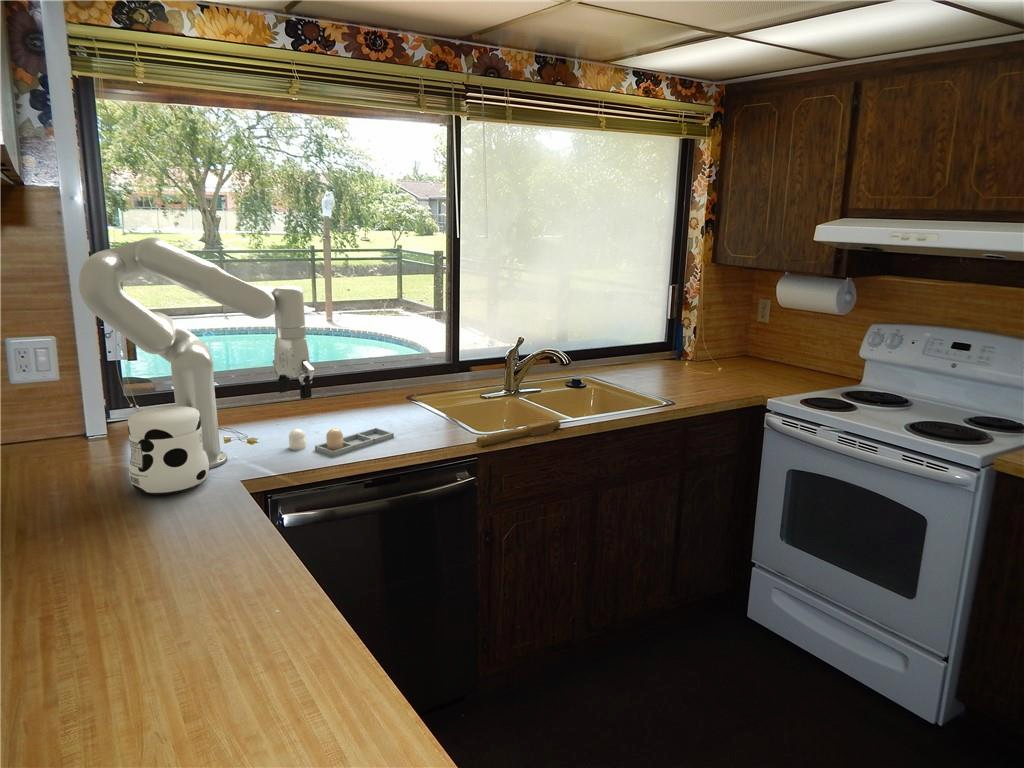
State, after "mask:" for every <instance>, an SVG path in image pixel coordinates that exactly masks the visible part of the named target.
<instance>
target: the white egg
mask: <svg viewBox="0 0 1024 768" xmlns="http://www.w3.org/2000/svg"><path fill="white" fill-rule="evenodd" d="M306 439H307V438H306V433H305V432H304V431H303V429H301V428H295V429H292V430H291V431H290V432H289V434H288V443H289V444H288V445H289V449H290V450H293V451H297V450H298V451H299V450H303V449H305V448H306V447H307V441H306Z"/></svg>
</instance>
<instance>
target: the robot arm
mask: <svg viewBox="0 0 1024 768" xmlns="http://www.w3.org/2000/svg"><path fill="white" fill-rule="evenodd" d="M79 272H80V273H79V278H78V288H79V293H80V297H81V299H82V300H83V303H84V304H85V306H86V307H87V308H88V309H89V311H90V312H91V313H93V314H94V315H95V316H96V317H98V318H99V319H100V320H101V321H103V322H104V323H106V324H107V325H108V326H110V327H111V328H112V329H113V330H115V331H116V332H118V333H119V334H120V335H122V336H123V337H124V338H126V339H127V340H129V341H130V342H131V343H133V344H134V345H136V346H137V347H138V348H140V350H142V351H143V352H145V353H148V354H150V355H151V354H152V355H158V356H160V358H163V359H164V360H166V361H167V362H169V364H170V368H171V369H170V370H171V377H172V378H171V380H172V384H173V395H174V402H175V403H174V406H184V407H191V408H195V409H197V410H198V411H199V414H200V419H201V428H202V441H203V446H204V449H205V452H206V454H207V457H208V460H209V469H213V468H215V467H219V466H221V465H223V464H224V463H226V462H227V461H228V455H227V453H226V452H224V451H221V444H220V433H219V424H218V423H219V422H218V411H217V402H216V392H215V377H214V376H215V375H214V363H213V359H212V353H211V352H210V351H211V350H210V349H209V347H208V345H206V343H205V342H204V341H202V339H200V338H198V337H197V336H196V335H195V334H194V333H192V332H191V331H189V330H188V329H187V328H185V327H184V326H183V325H182V324H180V323H178V322H177V321H175V320H174V319H173V318H171V317H170V316H169V315H168V314H164V313H162V312H159V311H152V310H149V308H147V307H145V306H144V305H142V304H141V303H140V302H139V301H137V300H136V299H135V298H134V297H132V296H130V294H127V293H126V292H125V291H124V290H123V288H122V286H121V283H124V282H126V281H130V280H134V279H137V278H140V277H144V276H147V275H150V276H153V277H155V278H158V279H161V280H163V281H165V282H168V283H171V284H173V285H176V286H178V287H181V288H182V289H184V290H187V291H189V292H192V293H194V294H196V295H198V296H200V297H203V298H205V299H208V300H210V301H214V302H216V303H218V304H219V305H222V306H224V307H227V308H228V309H232V310H234V311H235V312H239V313H241V314H243V315H246V316H248V317H250V318H254V319H257V320H264V319H267V318H269V317H271V316H272V315H273V314H274V323H275V339H274V352H273V353H274V356H273V358H274V359H273V360H272V365H273V367H274V371H275V373H276V376H275V377H276V379H277V383H278V384H277V386H278V392H279V393H280V394H283V393H287V392H290V391H291V383H290V377H291V378H298V380H299V382H300V384H299V396H300V399H301V400H306V399H309V398H312V395H313V394H312V383H313V380H314V379H315V378H314V374H315V371H316V370H315V368H314V367H313V366H312V365H311V363H310V354H309V348H308V347H309V346H308V343H307V339H306V337H307V336H306V335H307V333H306V321H305V320H306V319H305V317H306V316H305V306H304V305H305V303H304V292H303V288H302V287H300V286H299V285H280V286H267V285H253V284H251V283H249V282H247V281H244V280H242V279H239V278H237V277H236V276H234V275H232V274H230V273H228V272H227V271H224V270H223V269H222V268H221V267H219V266H218V265H216V264H214V263H212V262H211V261H208V260H206V259H203V258H201V257H199V256H197V255H194V254H192V253H189V252H187V251H185V250H183V249H180V248H178V247H176V246H173V245H171V244H170V243H168V242H166V241H164V239H161V238H158V237H147V238H143V239H140V240H138V241H134V242H131V243H126V244H122V245H119V246H115V247H111V248H108V249H103V250H101V251H97V252H95V253H92V255H90V256H89V257H87V258H86V259H85V261H84V262H83V264H82V266H81V268H80V271H79ZM279 393H278V394H279Z"/></svg>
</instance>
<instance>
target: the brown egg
mask: <svg viewBox="0 0 1024 768" xmlns="http://www.w3.org/2000/svg"><path fill="white" fill-rule="evenodd" d="M325 437H326V442H327V449H329V450H331V451H335V450H338V449H341V448H343V437H344V434H343V432H342V431H341V430H340V429H339V428H336V427H334V428H331V429H329V430H328V431H327V433H326V436H325Z"/></svg>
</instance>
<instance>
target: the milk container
mask: <svg viewBox="0 0 1024 768" xmlns="http://www.w3.org/2000/svg"><path fill="white" fill-rule="evenodd" d="M127 432H128V440H129V442H128V443H129V447H130V460H129V465H128V466H129V468H128V475H129V479H130V483H131V485H132V486H133V488H134V489H135V490H136V491H137V492H139V493H142V494H146V495H153V496H160V495H161V496H163V495H165V496H166V495H173V494H180V493H183V492H186V491H189V490H193V489H194V488H196V487H199V486H200V485H202V484H203V483H204V482H205V481H207V478H208V477H209V470H210V468H209V460H208V457H207V454H206V452H205V449H204V446H203V441H202V428H201V419H200V414H199V411H198V410H197V409H195V408H191V407H184V406H176V405H172V406H171V405H170V406H169V405H168V406H161V407H160V406H159V407H154V408H147V409H144V410H141V411H137V412H134V413H133V414H131V415H129V417H128V419H127Z"/></svg>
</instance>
